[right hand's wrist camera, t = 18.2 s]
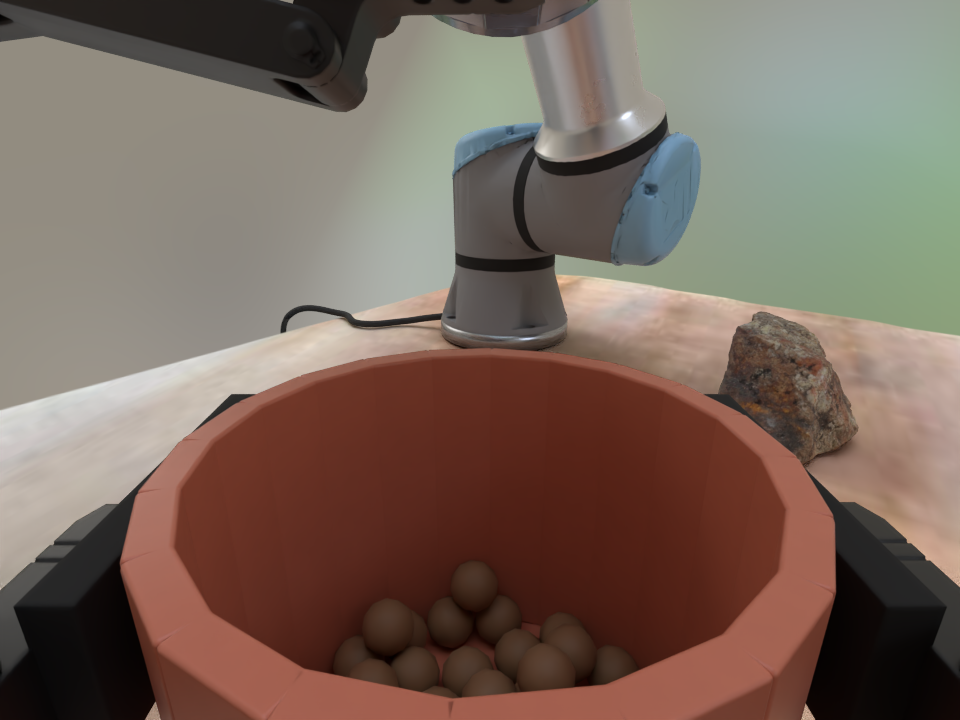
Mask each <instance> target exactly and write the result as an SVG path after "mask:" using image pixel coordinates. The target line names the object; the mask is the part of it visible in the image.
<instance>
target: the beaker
mask: <svg viewBox="0 0 960 720" xmlns="http://www.w3.org/2000/svg"><path fill="white" fill-rule="evenodd" d="M597 1H598V0H545V3H544V4H542V5H539V6H537V7H535V8H533V9H530V10H528V11H526V12H524V13H521V14H493V13H491V14H477V15H475V14H470V15H432V16H434V17H435V18H437V19H438V20H440V21H442V22H444V23H446V24H448V25H450V26H452V27H455V28H457V29H460V30H463V31H467V32H470V33H473V34H479V35H485V36H491V37H515V36H523V35H531V34H534V33H538V32H542V31H545V30H549V29H551V28H554V27H556V26H558V25H561V24H563V23H565V22H567V21H569V20H571V19H572V18H574V17H576V16H578V15H579V14H581V13H583V12H584V11H585V10H587V9H588V8H589V7H591V6H592V5H593V4H594V3H596V2H597Z"/></svg>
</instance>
